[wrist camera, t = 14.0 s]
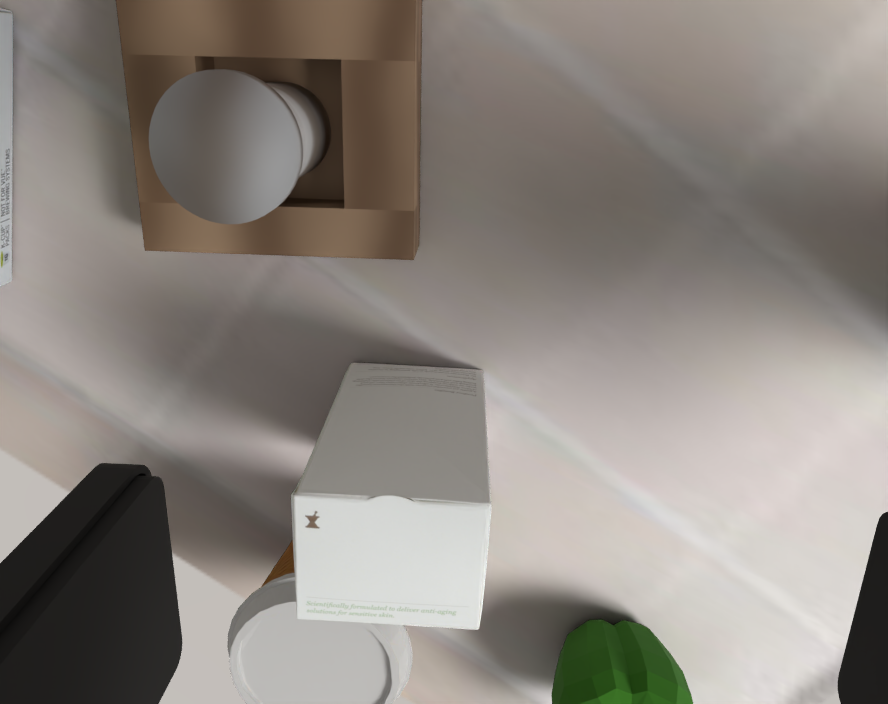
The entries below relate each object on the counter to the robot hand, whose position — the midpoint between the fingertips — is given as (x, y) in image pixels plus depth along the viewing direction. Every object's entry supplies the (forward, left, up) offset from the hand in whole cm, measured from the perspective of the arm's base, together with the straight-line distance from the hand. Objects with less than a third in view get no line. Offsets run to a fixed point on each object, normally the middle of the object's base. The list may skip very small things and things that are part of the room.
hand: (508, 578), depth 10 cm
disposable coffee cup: (+8, +22, -34) cm, 41 cm away
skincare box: (+4, +13, -34) cm, 36 cm away
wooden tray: (+11, -9, -33) cm, 36 cm away
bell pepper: (-9, +30, -34) cm, 46 cm away
